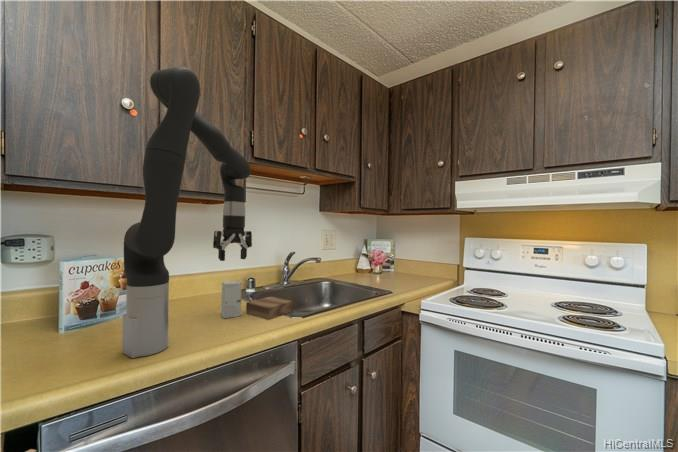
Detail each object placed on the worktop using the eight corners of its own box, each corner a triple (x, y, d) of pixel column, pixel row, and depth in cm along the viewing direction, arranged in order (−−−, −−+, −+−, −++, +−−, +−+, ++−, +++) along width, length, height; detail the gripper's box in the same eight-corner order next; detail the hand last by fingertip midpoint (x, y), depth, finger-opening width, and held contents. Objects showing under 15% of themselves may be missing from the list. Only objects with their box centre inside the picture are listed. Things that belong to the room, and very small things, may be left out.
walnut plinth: (268, 319, 100) (268, 308, 100) (246, 313, 107) (246, 302, 107) (292, 311, 110) (292, 301, 110) (270, 306, 117) (270, 296, 117)
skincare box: (223, 318, 100) (223, 284, 100) (220, 315, 104) (221, 281, 104) (241, 316, 104) (242, 282, 104) (238, 312, 107) (238, 280, 107)
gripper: (222, 213, 96) (220, 262, 96) (257, 215, 108) (255, 259, 108) (209, 213, 101) (208, 260, 100) (244, 216, 112) (243, 257, 112)
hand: (233, 259), depth 104 cm, fingers open, 8 cm apart
